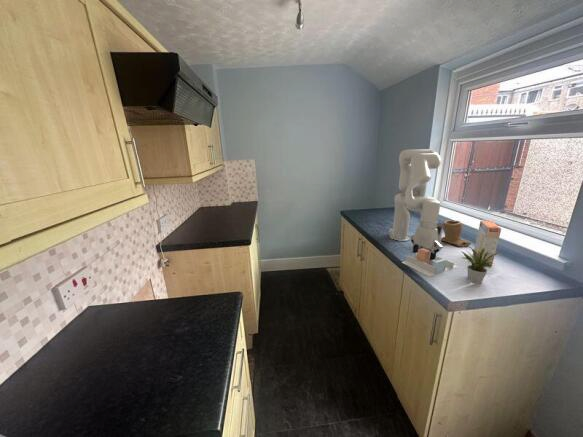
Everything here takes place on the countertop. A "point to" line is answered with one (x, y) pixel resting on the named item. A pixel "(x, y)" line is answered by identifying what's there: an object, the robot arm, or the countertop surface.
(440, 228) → the coffee box
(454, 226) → the tan piece
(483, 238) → the cracker box
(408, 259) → the wall shelf
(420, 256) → the peach cardboard carton
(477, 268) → the house plant
